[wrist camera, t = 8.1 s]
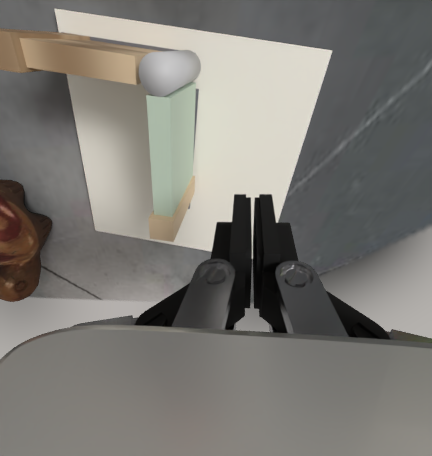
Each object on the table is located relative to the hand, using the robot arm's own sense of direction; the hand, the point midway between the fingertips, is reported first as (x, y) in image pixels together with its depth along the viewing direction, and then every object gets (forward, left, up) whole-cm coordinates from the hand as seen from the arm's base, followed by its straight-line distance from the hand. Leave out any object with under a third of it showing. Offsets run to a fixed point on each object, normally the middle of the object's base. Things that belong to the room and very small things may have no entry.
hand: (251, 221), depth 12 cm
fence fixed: (-10, +5, -10) cm, 15 cm away
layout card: (-5, -2, -11) cm, 12 cm away
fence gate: (-5, +1, -10) cm, 11 cm away
